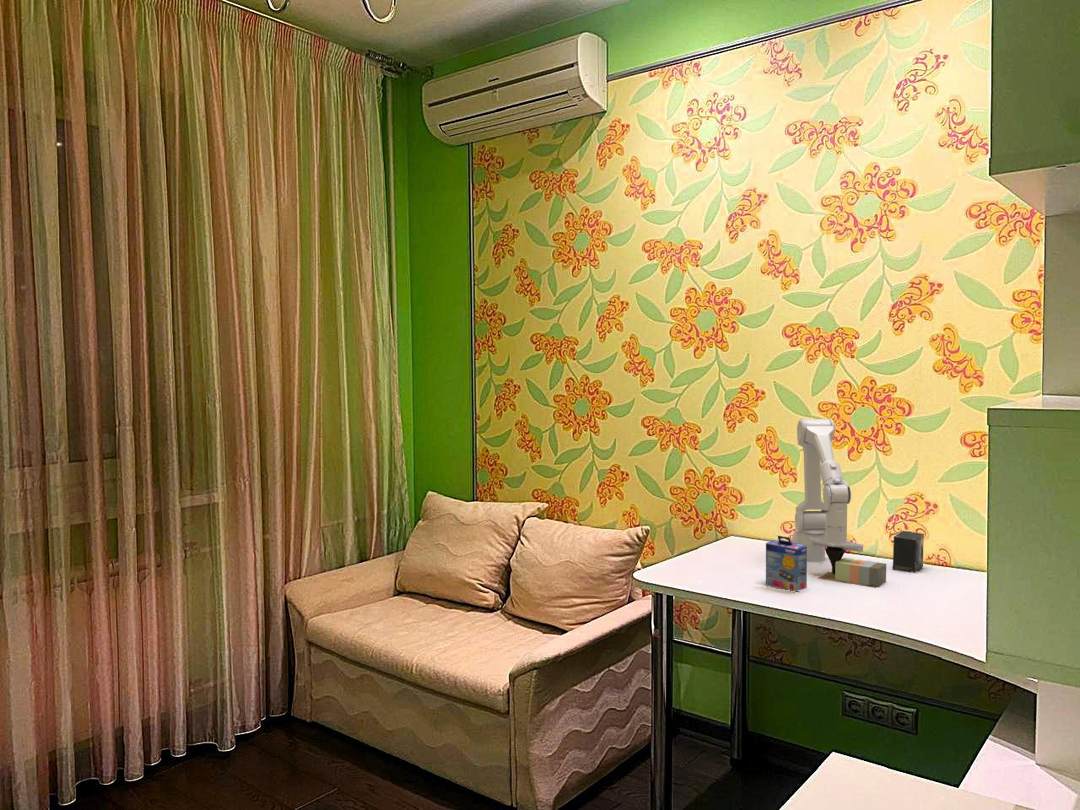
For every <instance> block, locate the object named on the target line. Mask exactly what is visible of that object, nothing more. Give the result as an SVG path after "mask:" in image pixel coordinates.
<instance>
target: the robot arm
mask: <svg viewBox="0 0 1080 810" xmlns="http://www.w3.org/2000/svg"><path fill="white" fill-rule="evenodd" d="M796 426H797V427H796V435H797V437H796V438H797V445H798V446H799V447H802V451H803V472H804V473H803V476H804V477H803V478H804V500H803V501H801V502H800V503H798V505H796V507H795V515H794V525H795V528H796V530H794V532H793V534H792V536H791V543H796V544H802V545H806V546H807V563H812V564H818V565H819V564H823V563H825V562H827V561H829V562H830V565H831V568H832V569H831V572H832V574H835V564H836V562H837V561H839V560H840V559H842V558H844V557H843V556H844V555H845V552H846V551H852V552H857V553H862V552H864V544H862V543H856V542H852V541H848V540H847V539H848V538H847V537H848V535H847V533H848V505H849V504H850V502H851V501H852V491H851V487H850V485H849V483H848V482H847V481H846V480H845V479H844V476H843V473H842V470H841V469H842V468H841V465H840V464H839V463H838V462H837V461H836V460H835V457H834V451H833V445H832V442H833V439H834V436H835V433H836V427H835V426H836V425H835V422H834V421H833V419H832V418H820V419H819V418H800V419H799V420H798V422H797V425H796ZM821 483H822V485H823V489H822V485H821ZM822 500H823V501H822ZM826 555H827V557H826Z"/></svg>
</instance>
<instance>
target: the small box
mask: <svg viewBox="0 0 1080 810" xmlns="http://www.w3.org/2000/svg"><path fill="white" fill-rule="evenodd" d="M924 537H925V534H924V533H921V532H920V533H919V532H914V531H907V530H902V531H900V532H899V533H897V534H895V535H894V536H893V546H892V548H893V549H892V551H893V554H892V569H891V570H893V571H898V572H904V573H911V574H915V573H916V572H917V573H918V572H920V570H922V569H923V568H924V547H925V546H924V542H925V540H924ZM922 567H923V568H922Z"/></svg>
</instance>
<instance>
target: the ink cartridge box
mask: <svg viewBox="0 0 1080 810" xmlns="http://www.w3.org/2000/svg"><path fill="white" fill-rule="evenodd" d="M777 539H778V540H776V539H774V540H771V541H768V542H766V543H765V585H767V586H772V587H777V588H776V589H778V588H782V589H785V590H784V591H786V590H790V591H789V592H791V591H795V592H798V593H800V592H801V590H803V589H806V588H808V586H807V585H808V582H807V581H808V576H807V575H808V573H807V571H808V565H807V564H808V562H807V546H806V545H802V544H796V543H792V539H791V538H790V537H788V536H782V535H777ZM783 539H784V540H783ZM782 589H781V590H782ZM795 592H794V593H795Z"/></svg>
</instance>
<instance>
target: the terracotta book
mask: <svg viewBox="0 0 1080 810" xmlns="http://www.w3.org/2000/svg"><path fill="white" fill-rule="evenodd" d="M867 561H868V560H863V559H858V560H857V561H855V562H853V563H852V564H850V582H851V583H856V584H859V572H860V565H862V564H864V563H865V562H867Z"/></svg>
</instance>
